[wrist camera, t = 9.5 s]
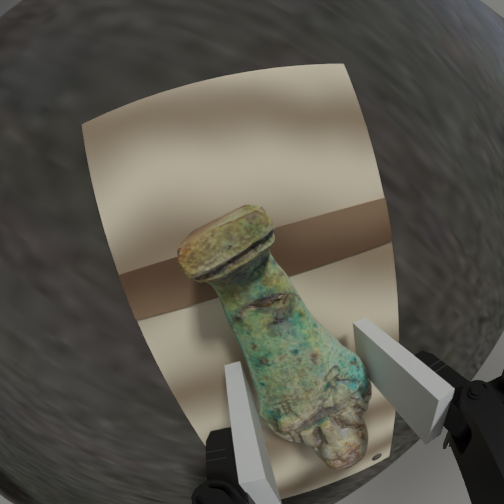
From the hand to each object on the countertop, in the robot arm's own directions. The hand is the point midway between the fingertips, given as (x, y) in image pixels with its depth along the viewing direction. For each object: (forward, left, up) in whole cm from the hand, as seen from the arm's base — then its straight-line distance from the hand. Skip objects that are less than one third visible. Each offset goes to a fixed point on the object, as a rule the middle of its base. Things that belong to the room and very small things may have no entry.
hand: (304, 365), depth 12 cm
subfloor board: (-2, 0, -3) cm, 3 cm away
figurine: (0, 0, -1) cm, 1 cm away
